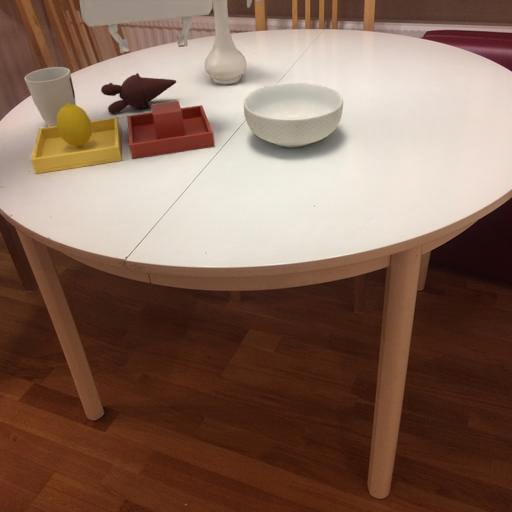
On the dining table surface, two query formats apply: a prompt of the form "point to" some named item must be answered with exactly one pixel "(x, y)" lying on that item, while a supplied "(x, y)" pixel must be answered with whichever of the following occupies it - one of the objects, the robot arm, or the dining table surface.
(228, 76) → the flower vase
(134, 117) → the red tray
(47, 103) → the cup
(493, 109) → the dining table surface
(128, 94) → the icecream
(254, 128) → the cereal bowl
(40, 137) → the yellow tray
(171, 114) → the red block
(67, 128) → the lemon
